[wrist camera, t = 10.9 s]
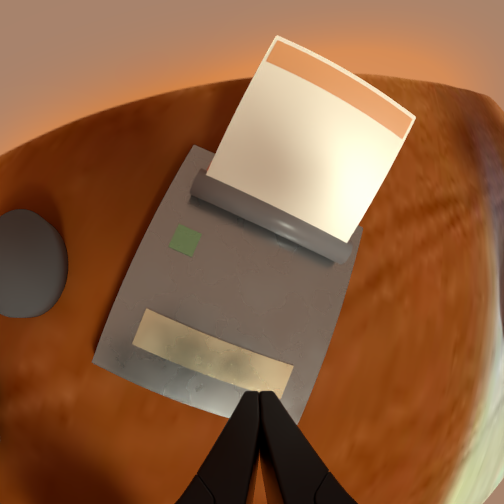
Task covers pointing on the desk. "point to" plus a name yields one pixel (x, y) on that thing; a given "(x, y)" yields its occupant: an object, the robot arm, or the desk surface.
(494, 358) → the desk surface
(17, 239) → the grey river pebble
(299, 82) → the bowl
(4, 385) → the desk surface
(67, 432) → the desk surface
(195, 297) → the grey flat slab
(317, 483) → the robot arm
